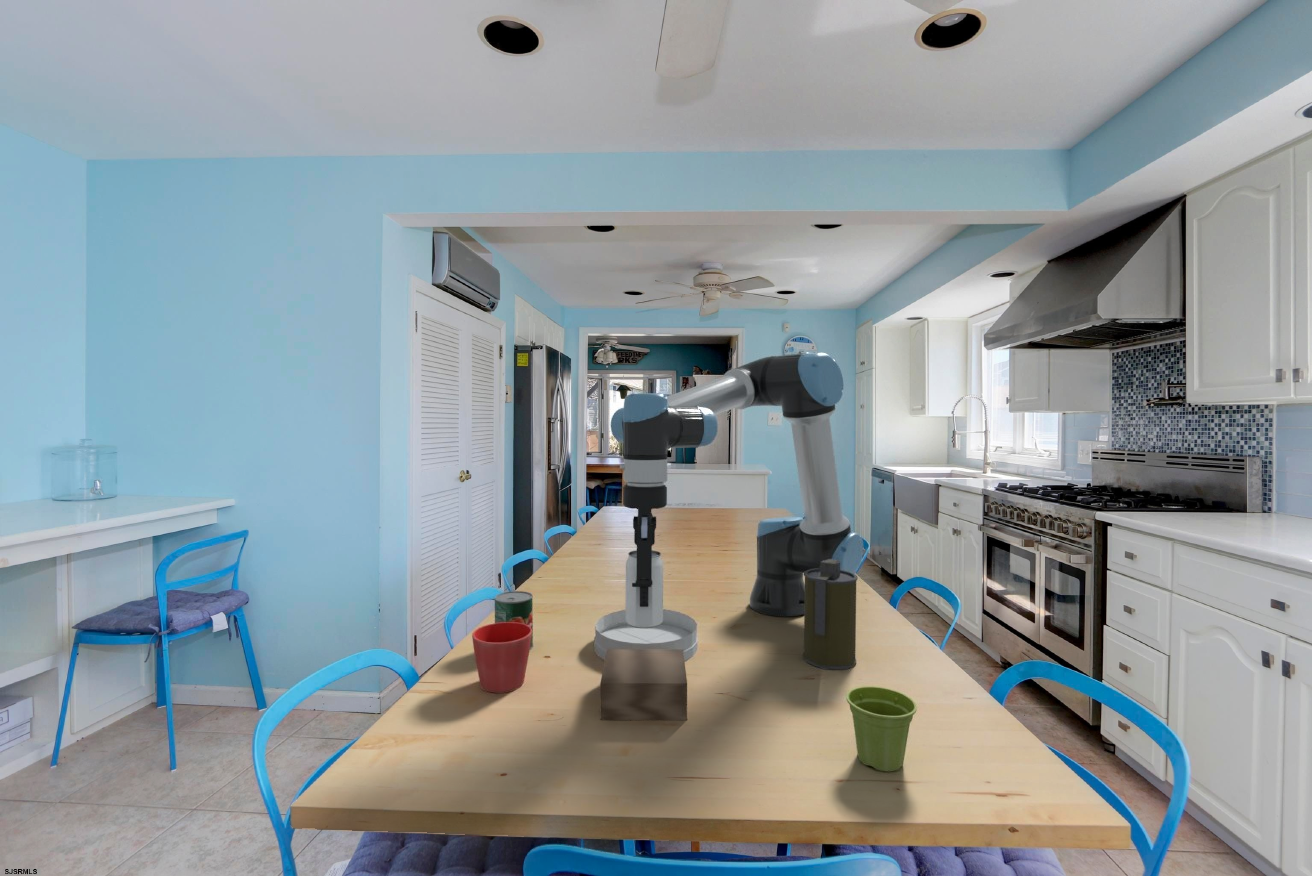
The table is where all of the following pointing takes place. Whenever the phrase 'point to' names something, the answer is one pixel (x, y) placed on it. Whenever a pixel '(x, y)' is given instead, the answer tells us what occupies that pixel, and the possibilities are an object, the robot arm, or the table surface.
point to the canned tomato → (515, 608)
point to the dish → (646, 634)
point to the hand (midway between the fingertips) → (644, 617)
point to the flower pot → (502, 655)
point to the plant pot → (881, 725)
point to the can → (656, 590)
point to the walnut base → (643, 685)
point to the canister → (830, 616)
